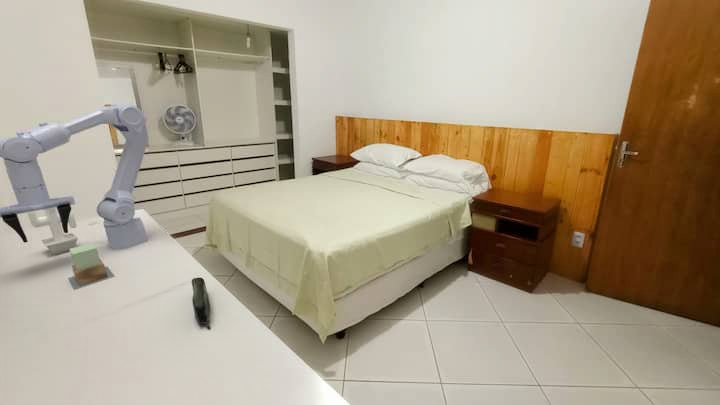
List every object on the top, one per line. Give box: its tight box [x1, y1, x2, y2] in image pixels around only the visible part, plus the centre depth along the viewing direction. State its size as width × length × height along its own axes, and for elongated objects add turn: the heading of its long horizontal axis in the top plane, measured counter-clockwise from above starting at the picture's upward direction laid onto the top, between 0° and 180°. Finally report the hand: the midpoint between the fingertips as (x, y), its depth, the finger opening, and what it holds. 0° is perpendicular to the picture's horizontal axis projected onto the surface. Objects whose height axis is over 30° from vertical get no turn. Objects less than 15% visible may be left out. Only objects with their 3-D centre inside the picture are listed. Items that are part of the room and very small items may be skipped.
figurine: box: [26, 207, 79, 255], centre depth 96 cm, size 7×9×15 cm
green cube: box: [69, 242, 101, 271], centre depth 78 cm, size 4×4×4 cm
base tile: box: [67, 265, 115, 291], centre depth 80 cm, size 8×8×2 cm
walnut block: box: [71, 257, 108, 286], centre depth 79 cm, size 6×6×4 cm
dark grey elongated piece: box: [191, 277, 211, 329], centre depth 68 cm, size 5×3×15 cm
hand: (46, 236), depth 82 cm, fingers open, 7 cm apart
